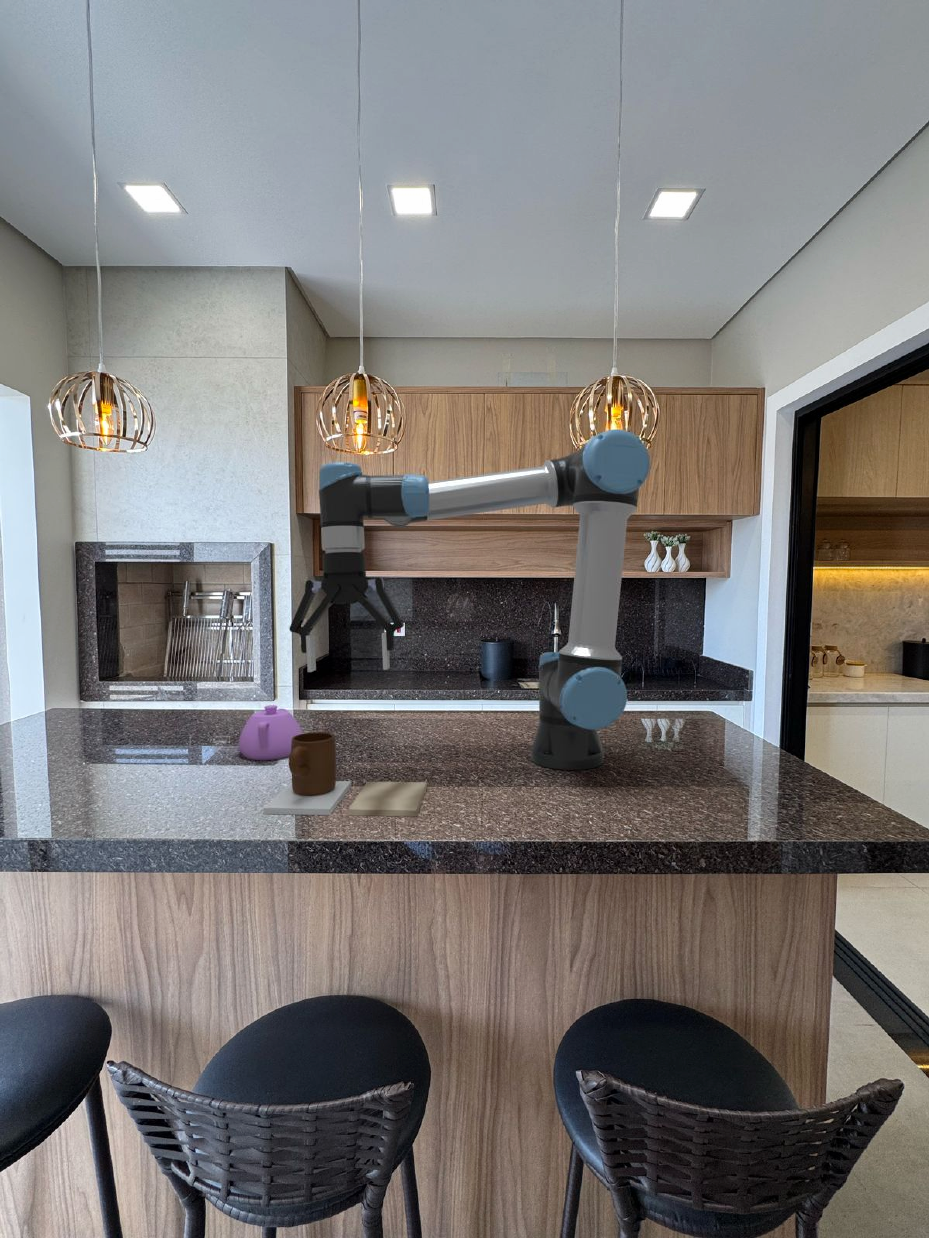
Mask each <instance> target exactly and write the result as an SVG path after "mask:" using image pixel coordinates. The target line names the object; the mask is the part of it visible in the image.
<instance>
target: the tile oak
mask: <svg viewBox="0 0 929 1238" xmlns="http://www.w3.org/2000/svg"><path fill="white" fill-rule="evenodd" d="M427 787H428V785H427V782H426V781H425V782H423V781H422V782H421V781H420V782H419V781H418V782H417V781H416V782H415V781H414V782H413V781H410V782H409V781H408V782H407V781H367V782H366V783H365V784H364V785H363V786H362V788H361V790H360V792H359V793H358V794H357V796H356V797H355V799H354V800H353V802H352V803H351V805H349V808H348V811H347V812H348V816H356V817H357V816H359V817H361V816H362V817H363V816H364V817H367V816H369V817H371V816H372V817H417V816H418V813H419V810H420V808H421V805H422V801H423V799H424V797H425V793H426V791H427Z"/></svg>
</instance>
